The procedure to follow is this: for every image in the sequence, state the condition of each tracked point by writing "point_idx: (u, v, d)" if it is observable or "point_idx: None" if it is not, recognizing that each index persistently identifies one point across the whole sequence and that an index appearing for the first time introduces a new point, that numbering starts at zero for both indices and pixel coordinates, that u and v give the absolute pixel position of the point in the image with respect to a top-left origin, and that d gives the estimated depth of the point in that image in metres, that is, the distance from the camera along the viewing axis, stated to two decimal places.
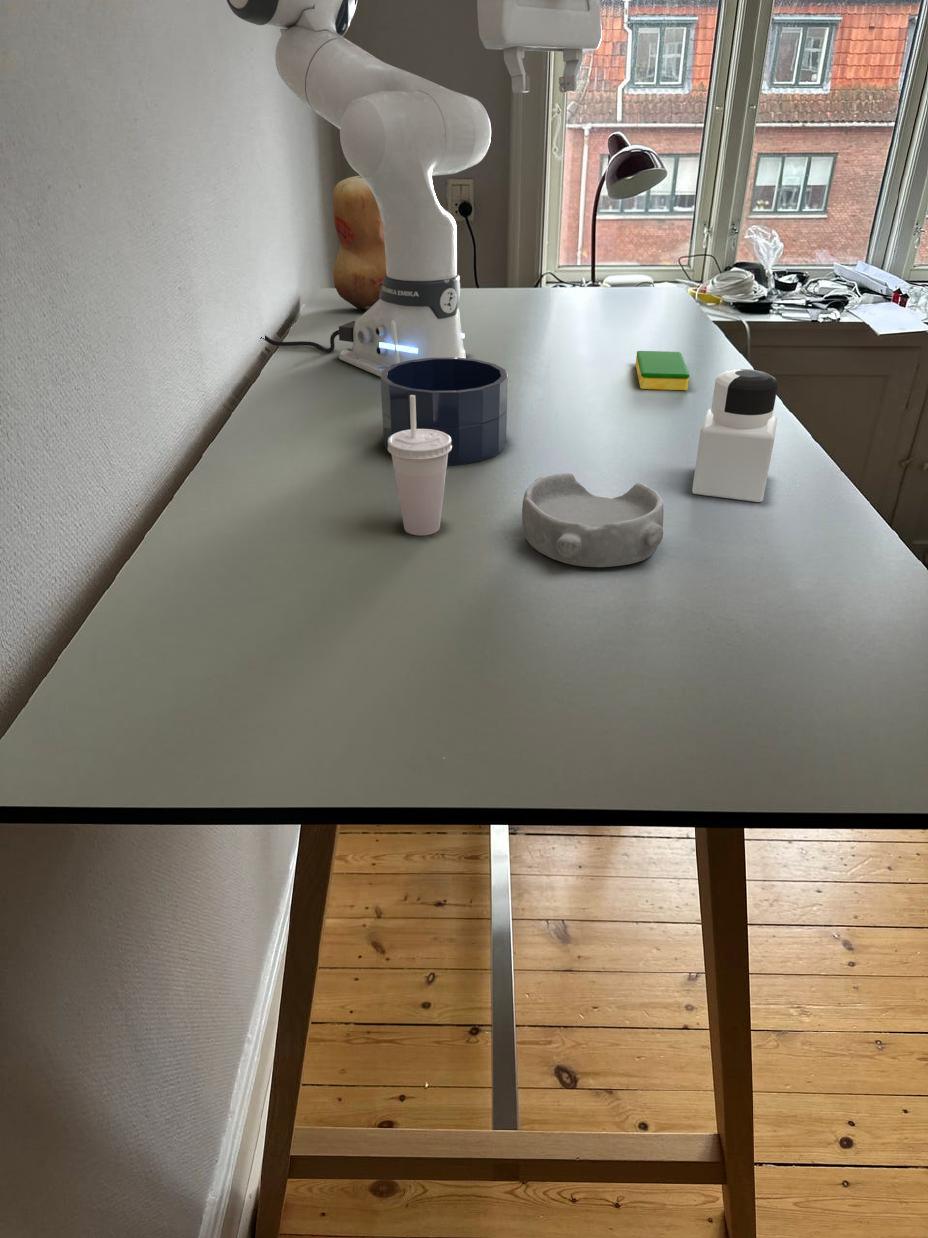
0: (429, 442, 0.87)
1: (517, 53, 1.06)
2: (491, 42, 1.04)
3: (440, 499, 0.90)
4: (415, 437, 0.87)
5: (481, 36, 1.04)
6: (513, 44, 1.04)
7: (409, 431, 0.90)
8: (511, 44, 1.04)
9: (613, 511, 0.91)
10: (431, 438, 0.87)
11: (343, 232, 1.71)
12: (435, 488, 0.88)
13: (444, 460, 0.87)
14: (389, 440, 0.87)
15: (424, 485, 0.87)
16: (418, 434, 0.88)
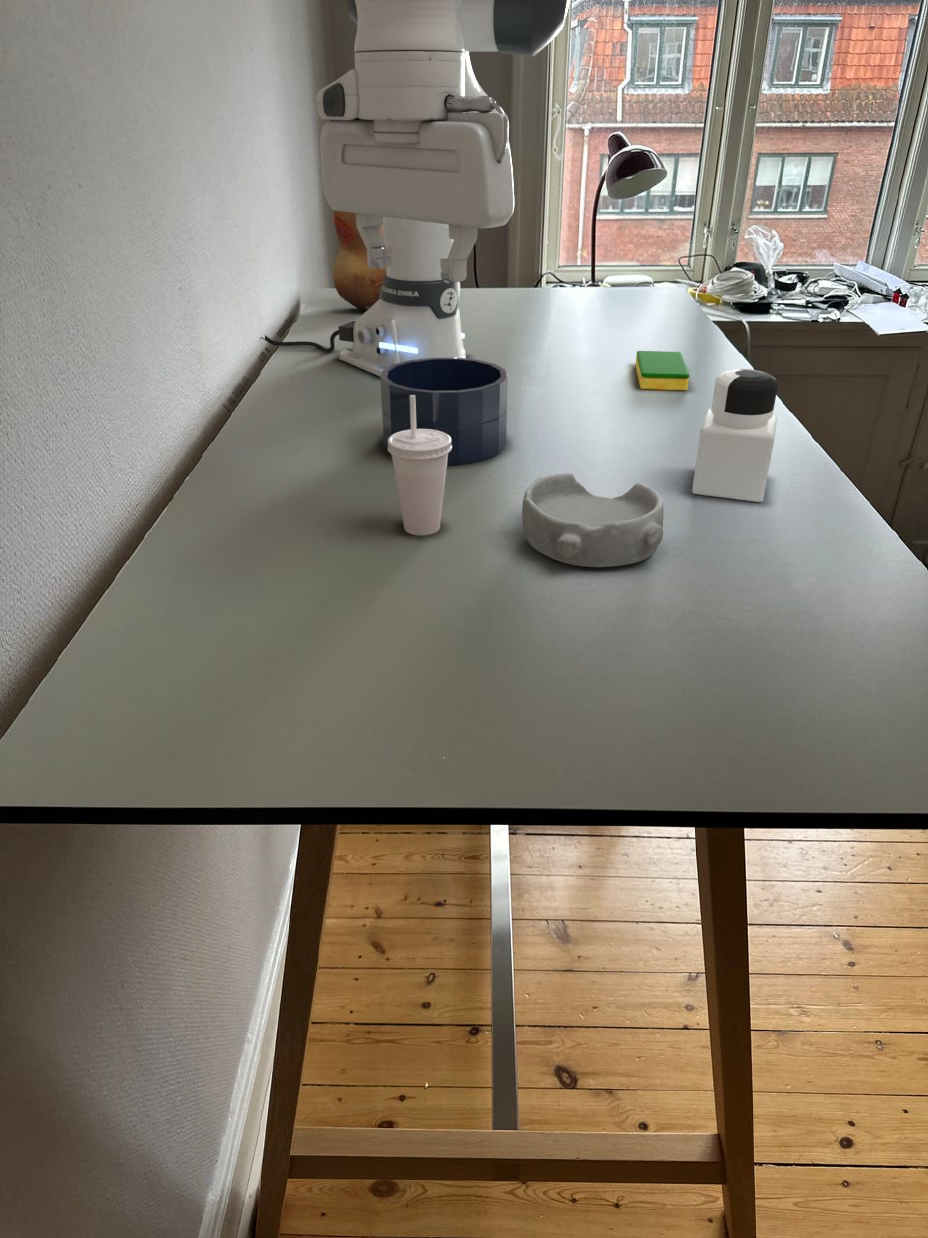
0: (429, 442, 0.87)
1: (356, 220, 0.81)
2: None
3: (440, 499, 0.90)
4: (415, 437, 0.87)
5: None
6: (341, 210, 0.81)
7: (409, 431, 0.90)
8: (339, 210, 0.81)
9: (613, 511, 0.91)
10: (431, 438, 0.87)
11: (343, 232, 1.71)
12: (435, 488, 0.88)
13: (444, 460, 0.87)
14: (389, 440, 0.87)
15: (424, 485, 0.87)
16: (418, 434, 0.88)
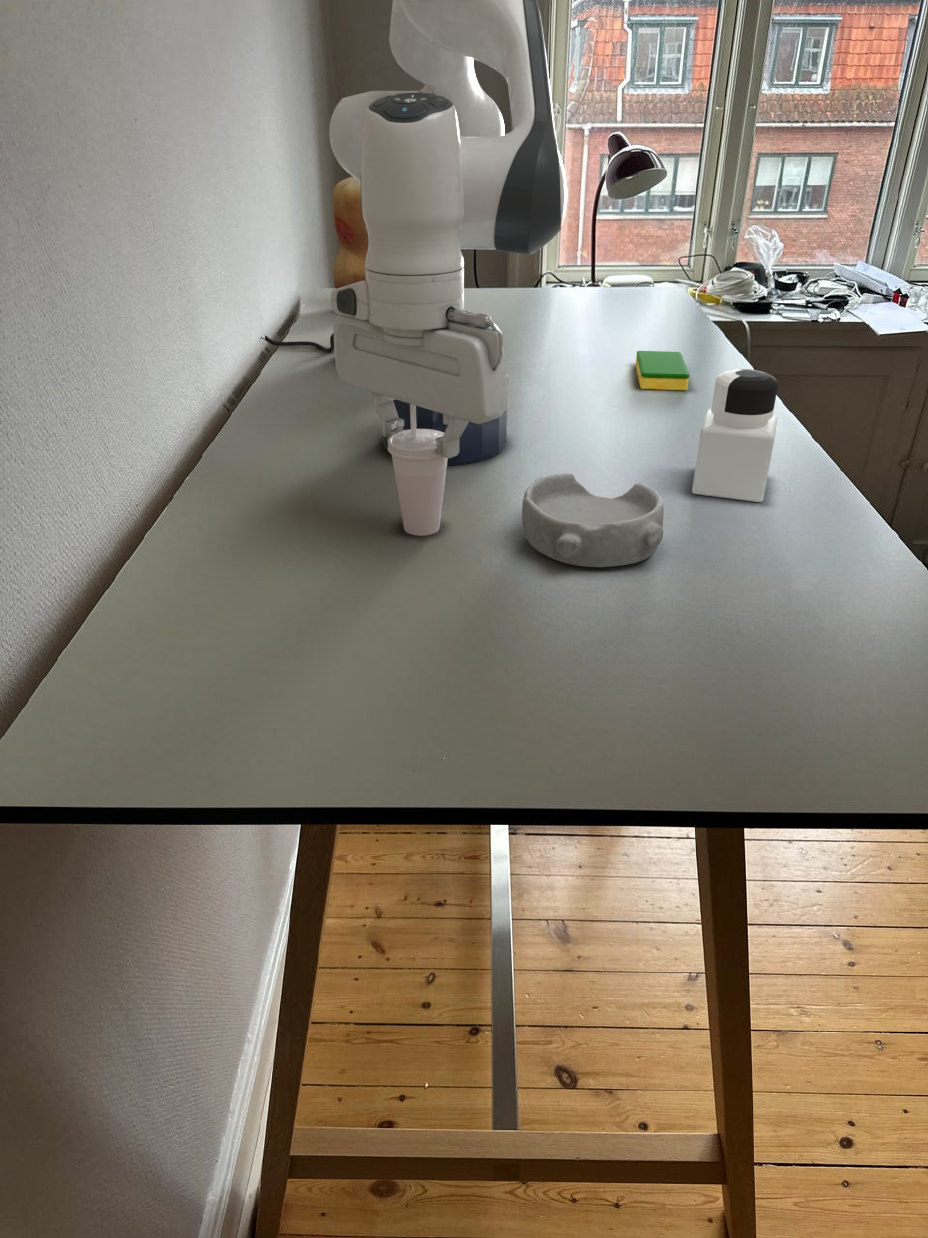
0: (429, 442, 0.87)
1: (372, 397, 0.88)
2: None
3: (440, 499, 0.90)
4: (415, 437, 0.87)
5: None
6: None
7: (409, 431, 0.90)
8: (350, 385, 0.89)
9: (613, 511, 0.91)
10: (431, 438, 0.87)
11: (343, 232, 1.71)
12: (435, 488, 0.88)
13: (444, 460, 0.87)
14: (389, 440, 0.87)
15: (424, 485, 0.87)
16: (418, 434, 0.88)
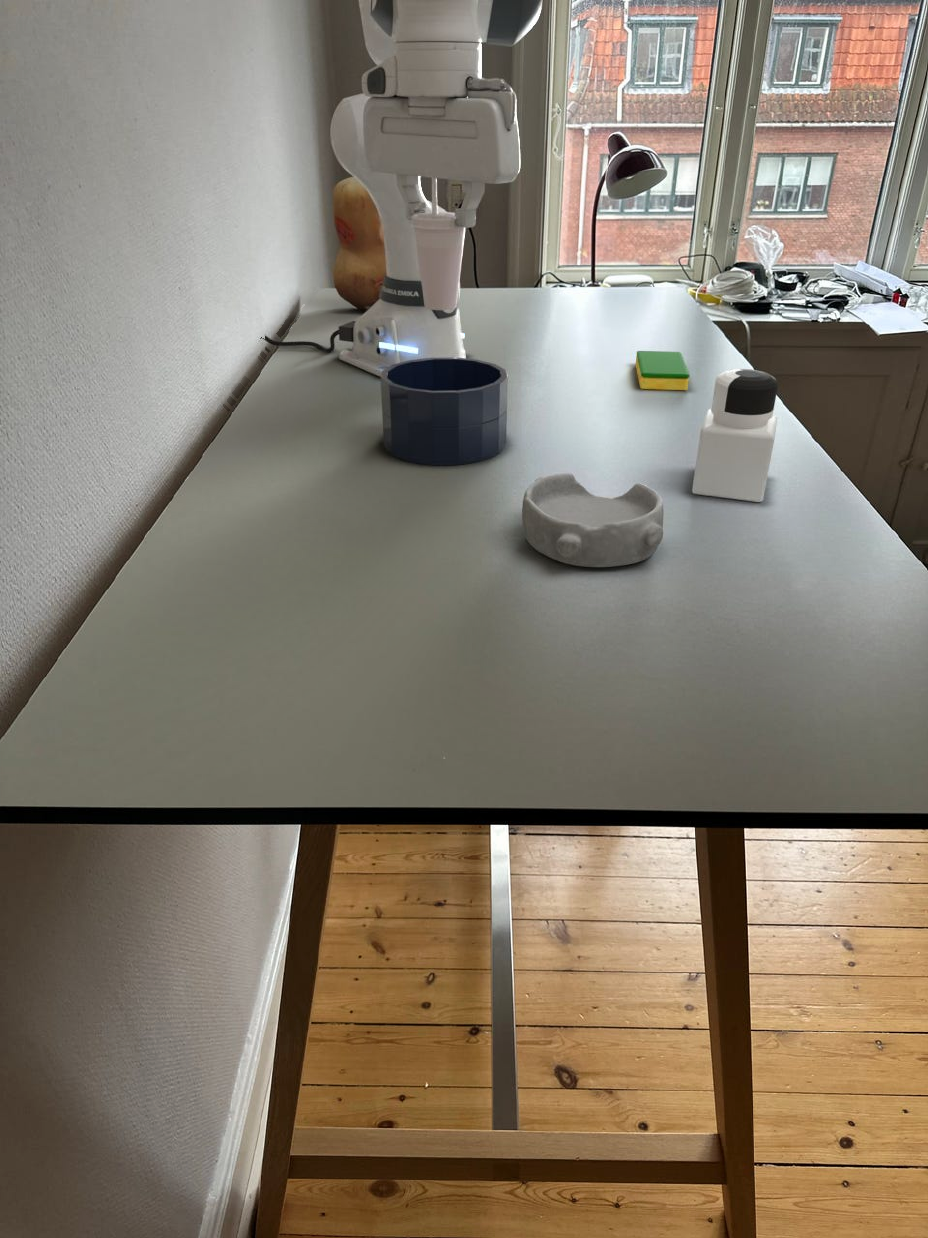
0: (448, 217, 0.97)
1: (397, 180, 0.99)
2: None
3: (457, 275, 1.00)
4: (436, 213, 0.98)
5: None
6: (379, 171, 0.99)
7: (430, 213, 1.00)
8: (377, 171, 1.00)
9: (613, 511, 0.91)
10: (450, 214, 0.98)
11: (343, 232, 1.71)
12: (453, 262, 0.99)
13: (462, 234, 0.98)
14: (412, 216, 0.98)
15: (443, 257, 0.98)
16: (438, 213, 0.99)
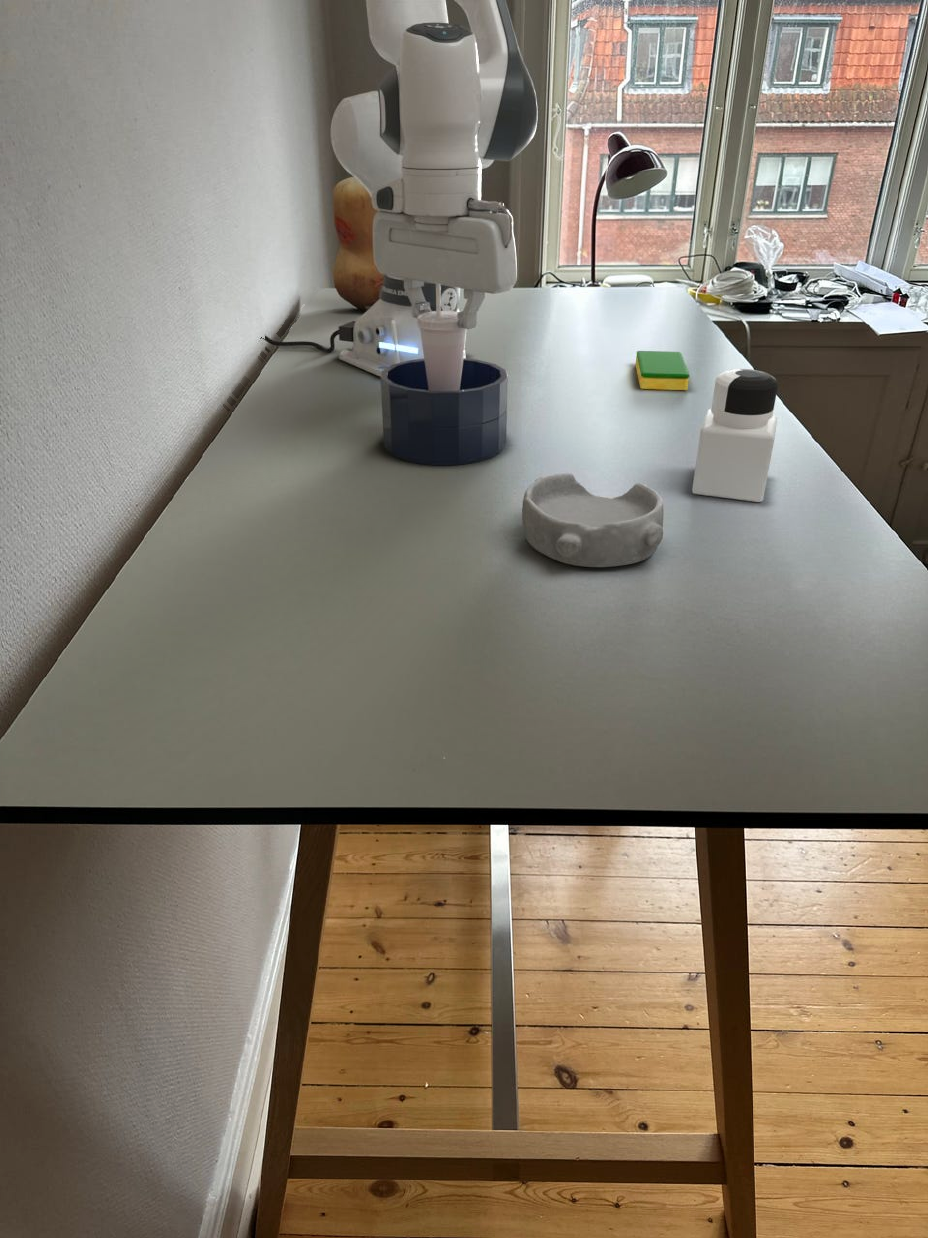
0: (451, 318, 1.05)
1: (404, 283, 1.07)
2: None
3: (460, 369, 1.08)
4: (440, 314, 1.06)
5: None
6: (387, 274, 1.08)
7: (434, 312, 1.08)
8: (385, 274, 1.08)
9: (613, 511, 0.91)
10: (453, 315, 1.06)
11: (343, 232, 1.71)
12: (456, 358, 1.07)
13: (464, 333, 1.06)
14: (418, 317, 1.06)
15: (447, 354, 1.06)
16: (442, 313, 1.07)
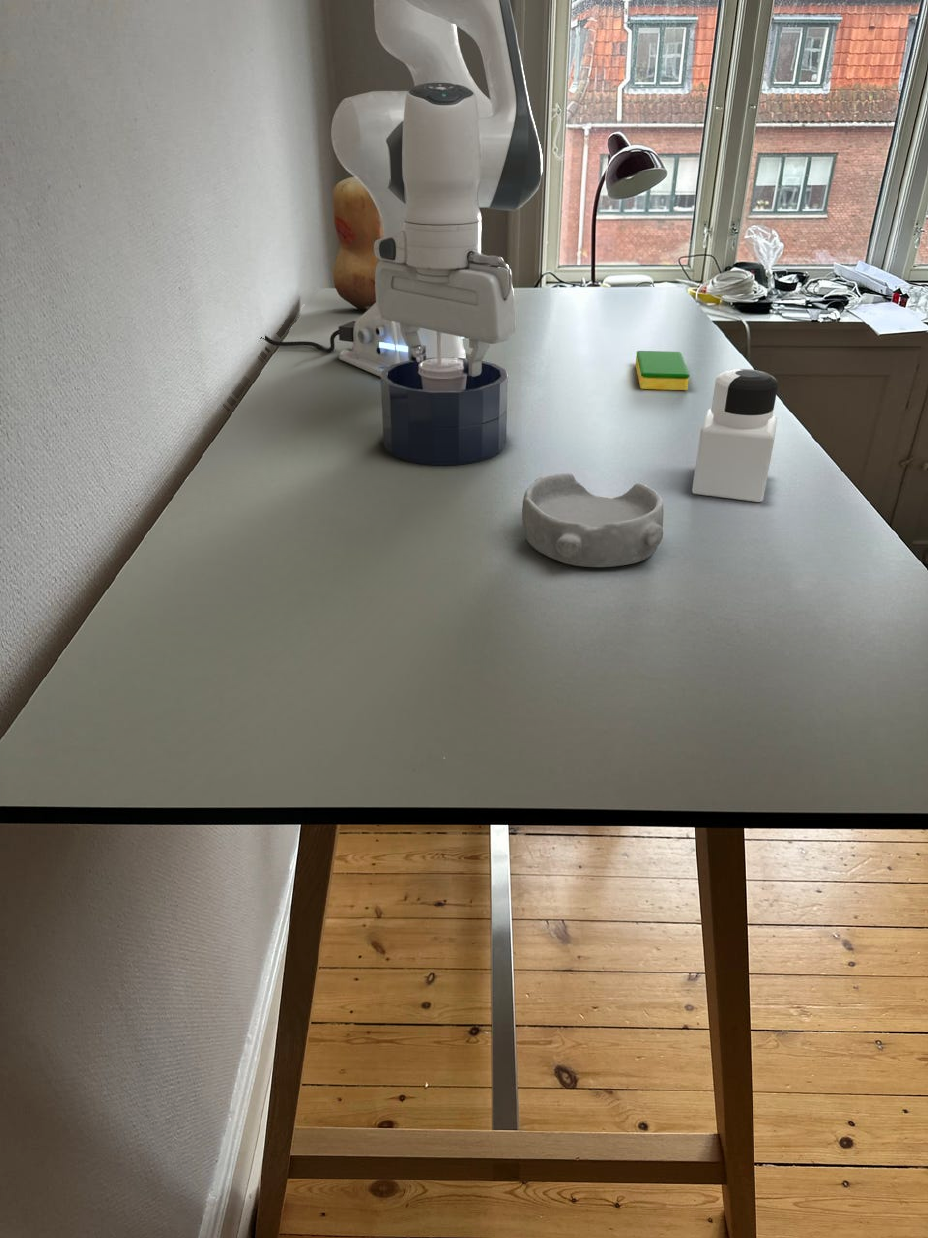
0: (452, 366, 1.08)
1: (401, 327, 1.11)
2: None
3: None
4: (440, 363, 1.09)
5: None
6: (389, 320, 1.11)
7: (435, 359, 1.11)
8: (387, 319, 1.11)
9: (613, 511, 0.91)
10: (453, 363, 1.09)
11: (343, 232, 1.71)
12: None
13: (464, 381, 1.09)
14: (419, 365, 1.09)
15: None
16: (442, 361, 1.10)
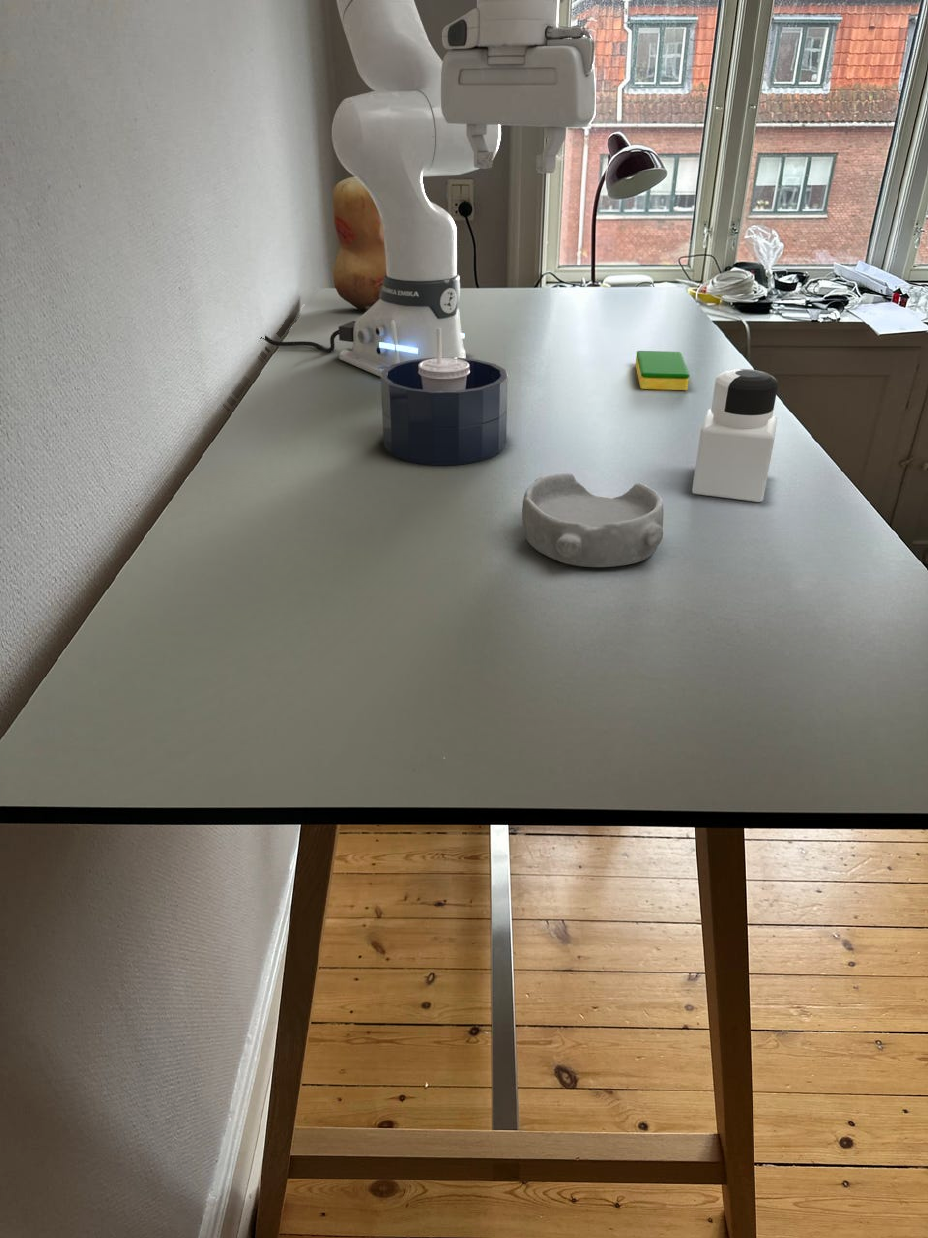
0: (452, 366, 1.08)
1: (467, 130, 1.05)
2: None
3: None
4: (440, 363, 1.09)
5: None
6: (455, 122, 1.05)
7: (435, 359, 1.11)
8: (453, 122, 1.05)
9: (613, 511, 0.91)
10: (453, 363, 1.09)
11: (343, 232, 1.71)
12: None
13: (464, 381, 1.09)
14: (419, 365, 1.09)
15: None
16: (442, 361, 1.10)
